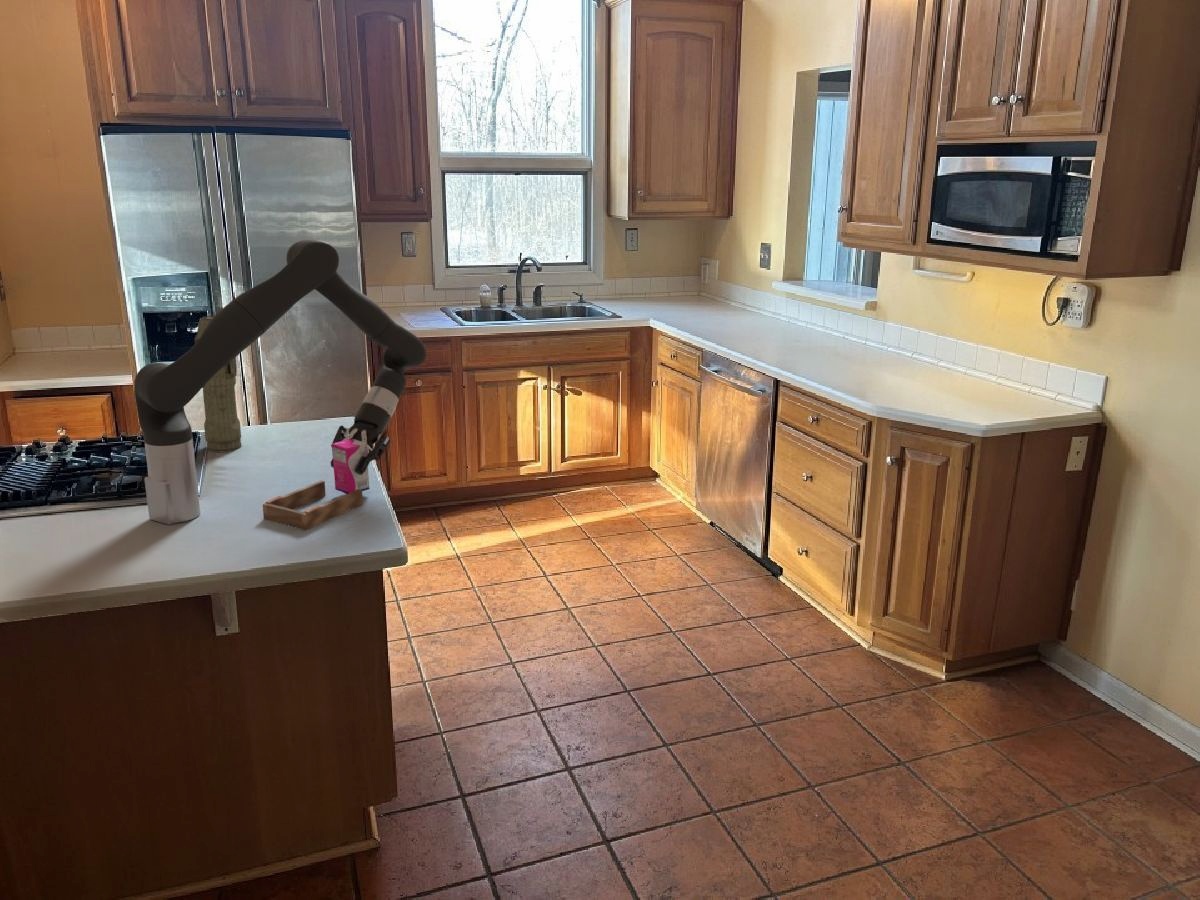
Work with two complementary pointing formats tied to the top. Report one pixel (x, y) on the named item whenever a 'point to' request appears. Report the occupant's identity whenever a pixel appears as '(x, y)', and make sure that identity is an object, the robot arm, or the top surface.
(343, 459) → the supplement box
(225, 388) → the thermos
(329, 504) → the channel
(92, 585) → the top surface
